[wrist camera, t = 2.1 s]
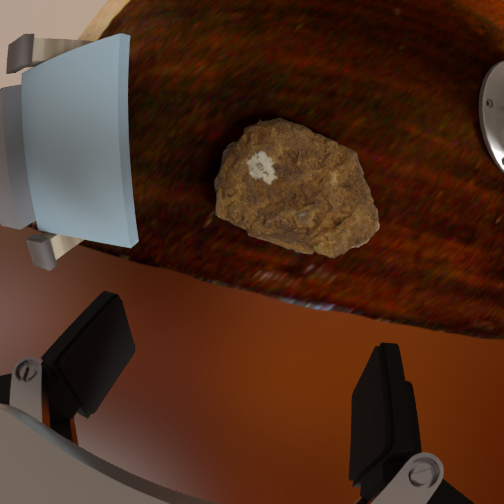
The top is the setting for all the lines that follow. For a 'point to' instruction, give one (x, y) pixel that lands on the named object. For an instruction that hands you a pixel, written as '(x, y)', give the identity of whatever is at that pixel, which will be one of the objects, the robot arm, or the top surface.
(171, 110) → the top surface
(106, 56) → the trapdoor
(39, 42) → the trapdoor stand
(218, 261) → the top surface
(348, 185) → the decorative rock
